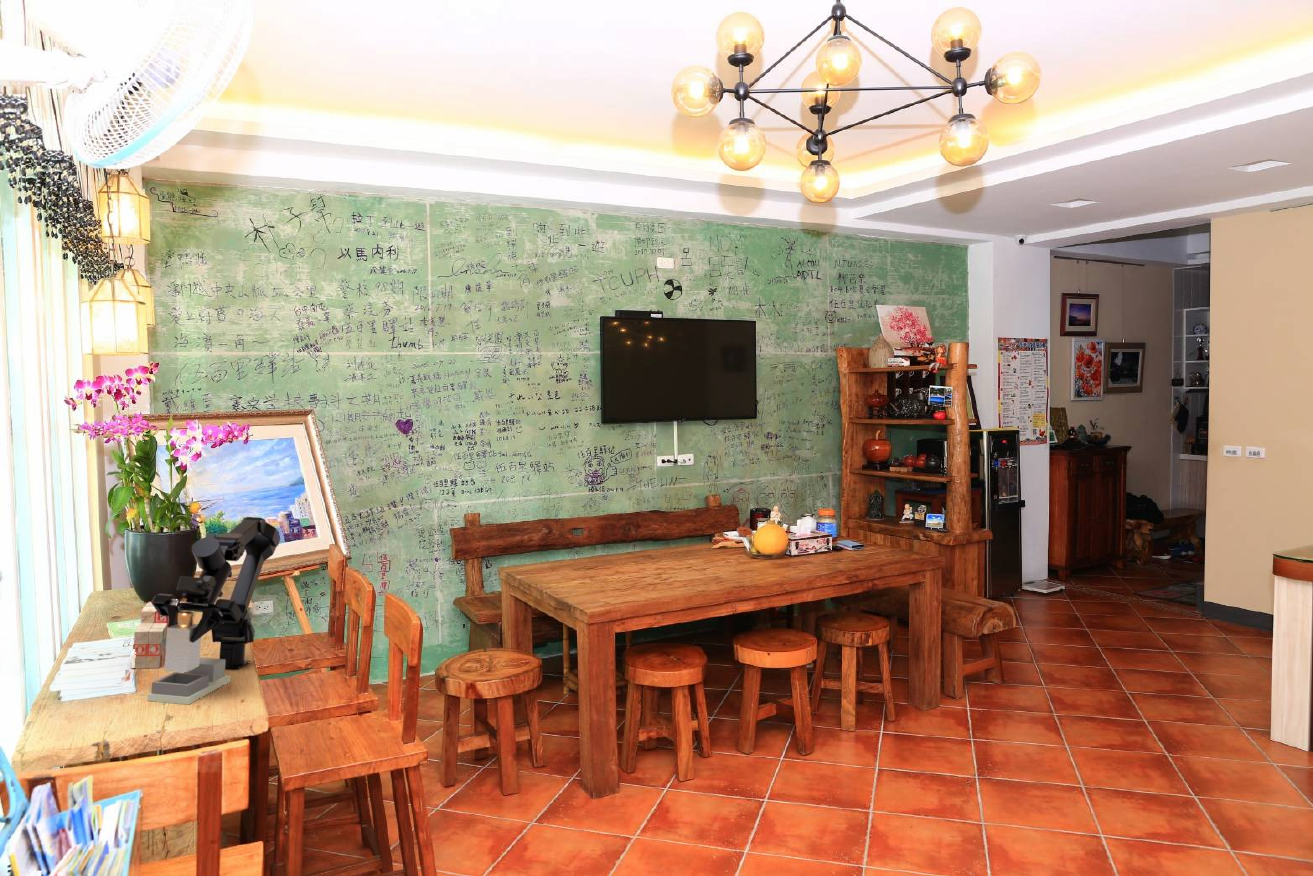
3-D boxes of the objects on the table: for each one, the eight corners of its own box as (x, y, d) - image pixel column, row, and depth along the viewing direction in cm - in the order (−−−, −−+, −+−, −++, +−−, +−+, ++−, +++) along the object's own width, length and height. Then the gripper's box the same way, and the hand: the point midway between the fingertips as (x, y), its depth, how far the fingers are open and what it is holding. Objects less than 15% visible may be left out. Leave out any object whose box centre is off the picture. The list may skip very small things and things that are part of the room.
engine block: (177, 664, 201) (181, 609, 201) (199, 666, 201) (202, 611, 201) (164, 670, 196) (167, 614, 196) (186, 672, 196) (189, 616, 196)
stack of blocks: (160, 668, 218) (163, 619, 218) (130, 669, 215) (134, 619, 215) (172, 646, 238) (175, 600, 237) (145, 647, 235) (148, 600, 235)
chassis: (191, 679, 211) (193, 656, 211) (230, 682, 211) (231, 659, 211) (147, 700, 194) (148, 675, 194) (188, 704, 194) (190, 679, 194)
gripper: (158, 558, 203) (124, 617, 192) (238, 565, 202) (208, 624, 191) (177, 586, 211) (145, 644, 200) (253, 592, 210) (225, 651, 199)
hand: (180, 640), depth 197 cm, fingers closed on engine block, 5 cm apart
